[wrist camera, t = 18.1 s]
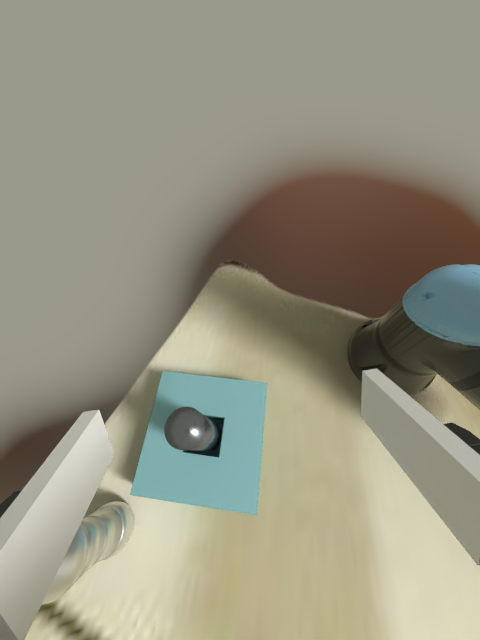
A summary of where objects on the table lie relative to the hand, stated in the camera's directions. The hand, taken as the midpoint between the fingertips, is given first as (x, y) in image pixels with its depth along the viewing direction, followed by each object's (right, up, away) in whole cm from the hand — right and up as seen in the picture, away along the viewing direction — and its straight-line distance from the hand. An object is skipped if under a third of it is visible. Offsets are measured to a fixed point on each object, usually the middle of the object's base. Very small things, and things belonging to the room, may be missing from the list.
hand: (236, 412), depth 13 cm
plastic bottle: (-19, -27, +27) cm, 43 cm away
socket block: (-5, -16, +32) cm, 36 cm away
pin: (-5, -15, +31) cm, 35 cm away
